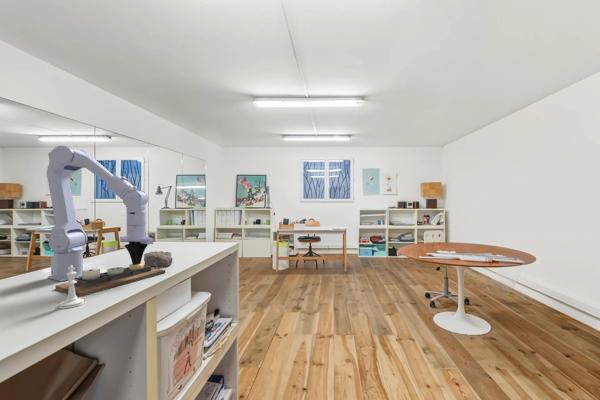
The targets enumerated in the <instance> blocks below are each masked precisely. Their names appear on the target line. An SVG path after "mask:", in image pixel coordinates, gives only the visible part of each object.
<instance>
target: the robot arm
mask: <svg viewBox="0 0 600 400" xmlns="http://www.w3.org/2000/svg"><path fill="white" fill-rule="evenodd" d="M47 155H48V159H49V160H48V161H49V162H48V165H47V168H46V177H47V184H48V190H49V194H50V199H51V200H50V201H51V206H52V211H53V216H54V221H55V225H54V226H53V227H52V228H51V230H49V233H50V236H49V240H48V246H49V248H50V249H51V250H52V251H53V255H52V256H51V257H50V275H48V276H47V279H51V280H54V281H58V282H64V281H69V280H68V277H67V275H66V274H67V273H68V272H70V270H68V268H69V267H70V265H73V268H75V269H74V270H73V271H74V272H77V273H76V276H75V279H77V278H82V271H84V264H83V263H84V258H83V257H84V256H83V255H84V253H83V251H84V246H85V245H86V244H87V242H88V235H87V234H86V232H85V230H84V229H83V225H81V224H80V222H78V220H77V216H76V210H75V205H74V199H73V193H72V188H71V183H70V176H72V175H73V174H74V173H77V171H79V170H81V169H86V170H88V171H89V172H91V173H92V174H94V175H95V176H97V178H99V179H101V180H102V181H104V182H105V183H106V188H107V190H110V191H111V192H112V193H113V194H115V195H116V196H117V197H118V198H119V199H121V200H122V203H123V205H124V206H125V208H126V209H125V210H126V235H124V236H120V237H119V239H120V240H119V242H120V243H127V244H125V245H124V248H125V249H126V250H127V252H128V254H129V257H130V259H131V264H140V263H142V259H143V257H144V254H145V251H146V249H147V247H148V246H149V245H153V244H154V238H153V237H150V236H147V234H146V232H147V231H146V230H147V227H146V226H147V225H146V223H147V222H146V219H147V218H146V217H147V216H146V205H147V203H148V202H149V196H148V195H147V193H146V191H145V190H138V188H139V187H137V186H136V185H133V184H132V183H131V182H129V181H128V178H127V177H126V176H121V175H114V174H113V173H111V172H110V171H109V170H108V169H107V168H106V167H105V166H104V165H102V164H101V163H100V162H99V161H98V160H96V159H95V158H94V157H93V155H91V154H88V153H87V152H86V151H85V150H82V149H75V148H72V147H69V146H66V145H57V146H55V147H54V148H53V149H52V150H50V152H48V154H47Z"/></svg>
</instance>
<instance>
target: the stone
mask: <svg viewBox="0 0 600 400" xmlns="http://www.w3.org/2000/svg"><path fill="white" fill-rule="evenodd" d="M143 261H144V262H143V263H144V265H146V266H151V268H162V267H165V268H166V267H169V266H171V265H172V264H173V257H172V252H170V251H165V252H164V251H162V250H160V251H157V250H155V251H149V252H146V253H145V252H144V253H143Z"/></svg>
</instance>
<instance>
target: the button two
mask: <svg viewBox="0 0 600 400" xmlns="http://www.w3.org/2000/svg"><path fill="white" fill-rule="evenodd" d="M123 268H124V267H123V266H116V267H110V268H107V270H106V272H107V274H108V275H115V274H119V273H124V269H123Z"/></svg>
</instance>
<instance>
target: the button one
mask: <svg viewBox="0 0 600 400" xmlns="http://www.w3.org/2000/svg"><path fill="white" fill-rule="evenodd" d="M100 273H101V269H100V268H91V269H90V268H88V269H83V271H82V277H81V278H82V280H94V279H98V278H100Z"/></svg>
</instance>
